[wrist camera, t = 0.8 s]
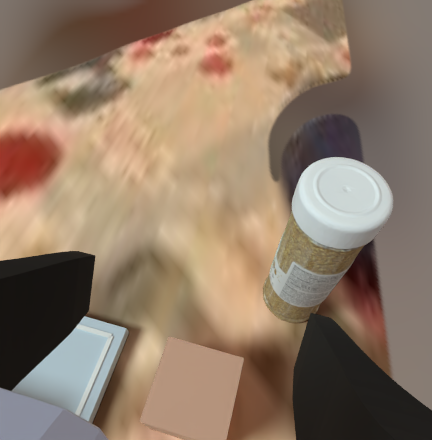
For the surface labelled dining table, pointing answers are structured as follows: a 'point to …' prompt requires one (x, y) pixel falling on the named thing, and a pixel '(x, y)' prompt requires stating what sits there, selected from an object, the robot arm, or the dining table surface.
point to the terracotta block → (193, 392)
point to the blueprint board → (77, 368)
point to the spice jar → (325, 234)
